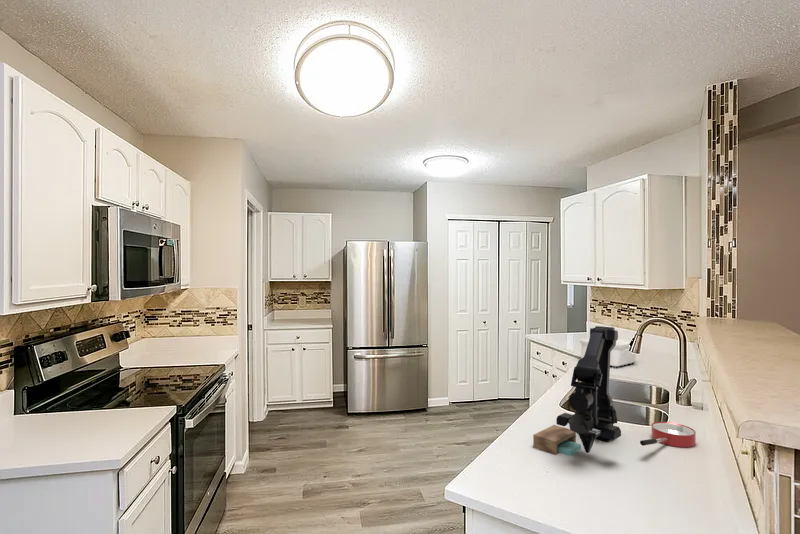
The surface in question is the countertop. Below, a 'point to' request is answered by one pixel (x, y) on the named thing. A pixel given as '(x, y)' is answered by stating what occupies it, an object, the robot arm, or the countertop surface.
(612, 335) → the robot arm
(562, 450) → the teal rectangular slab
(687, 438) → the frying pan
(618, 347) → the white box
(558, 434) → the overhang
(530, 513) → the countertop surface
